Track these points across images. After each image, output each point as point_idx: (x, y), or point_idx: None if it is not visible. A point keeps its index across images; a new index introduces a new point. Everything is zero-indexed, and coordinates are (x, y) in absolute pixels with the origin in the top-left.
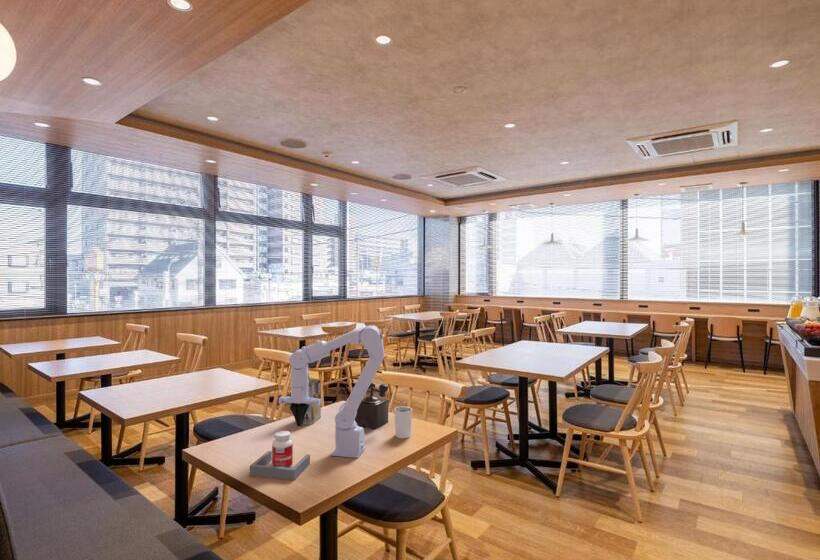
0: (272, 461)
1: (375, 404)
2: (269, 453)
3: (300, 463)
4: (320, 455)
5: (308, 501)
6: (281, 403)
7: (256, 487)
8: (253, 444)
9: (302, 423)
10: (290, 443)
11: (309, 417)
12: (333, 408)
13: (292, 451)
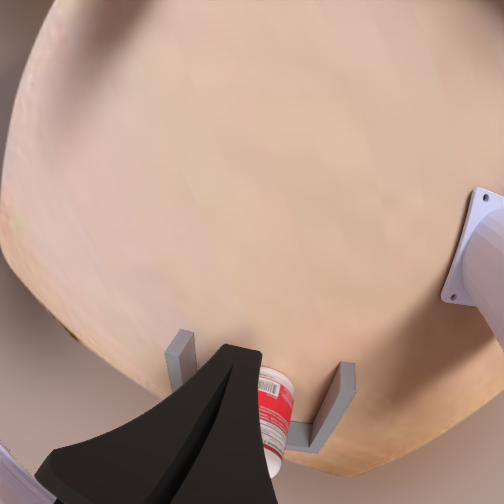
0: None
1: None
2: (181, 367)
3: (328, 434)
4: (393, 291)
5: (361, 466)
6: (9, 451)
7: None
8: (63, 191)
9: (259, 369)
10: (275, 474)
11: None
12: None
13: (286, 436)
